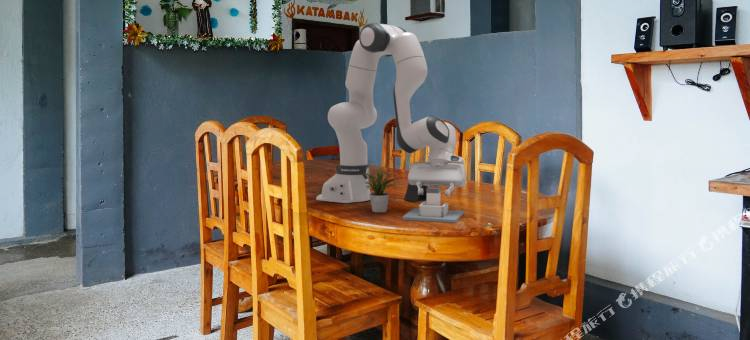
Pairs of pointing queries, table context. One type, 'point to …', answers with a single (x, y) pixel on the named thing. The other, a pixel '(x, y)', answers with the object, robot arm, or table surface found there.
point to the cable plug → (434, 196)
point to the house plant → (379, 191)
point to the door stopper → (415, 193)
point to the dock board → (433, 214)
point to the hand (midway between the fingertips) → (433, 194)
